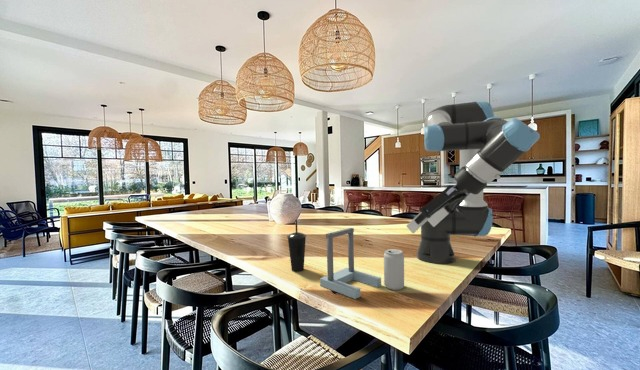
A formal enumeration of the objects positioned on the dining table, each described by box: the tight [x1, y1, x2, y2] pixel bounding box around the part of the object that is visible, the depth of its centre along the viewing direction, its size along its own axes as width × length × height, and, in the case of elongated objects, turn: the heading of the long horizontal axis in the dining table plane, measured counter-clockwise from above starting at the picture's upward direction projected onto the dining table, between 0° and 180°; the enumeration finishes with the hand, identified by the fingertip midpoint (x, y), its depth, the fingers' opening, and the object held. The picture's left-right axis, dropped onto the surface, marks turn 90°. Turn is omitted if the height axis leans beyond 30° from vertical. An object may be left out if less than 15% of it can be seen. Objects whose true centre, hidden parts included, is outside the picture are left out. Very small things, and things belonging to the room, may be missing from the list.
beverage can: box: [383, 248, 405, 291], centre depth 90 cm, size 6×6×12 cm
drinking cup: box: [286, 219, 307, 272], centre depth 109 cm, size 8×8×20 cm
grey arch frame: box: [319, 227, 382, 300], centre depth 92 cm, size 15×14×18 cm
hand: (420, 226), depth 82 cm, fingers open, 13 cm apart
